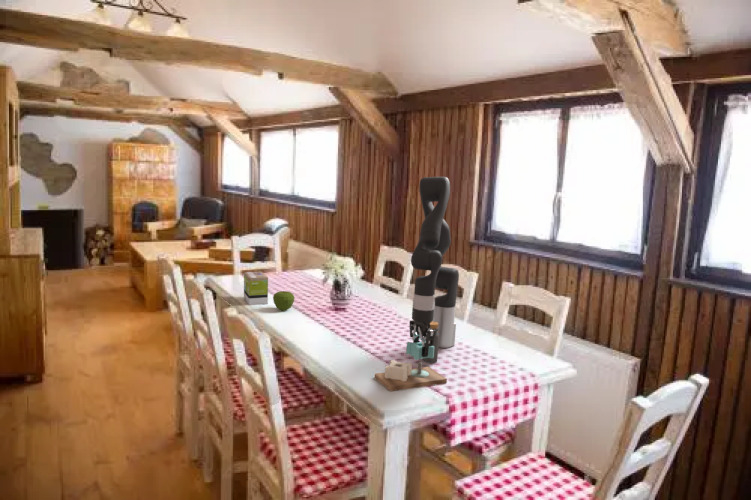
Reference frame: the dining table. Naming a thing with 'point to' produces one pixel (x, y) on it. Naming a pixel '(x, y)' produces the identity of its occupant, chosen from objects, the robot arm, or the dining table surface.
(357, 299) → the dining table surface
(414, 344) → the teal gear
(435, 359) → the bottle
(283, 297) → the apple
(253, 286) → the tea box
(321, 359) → the dining table surface
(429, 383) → the board
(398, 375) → the cream gear
